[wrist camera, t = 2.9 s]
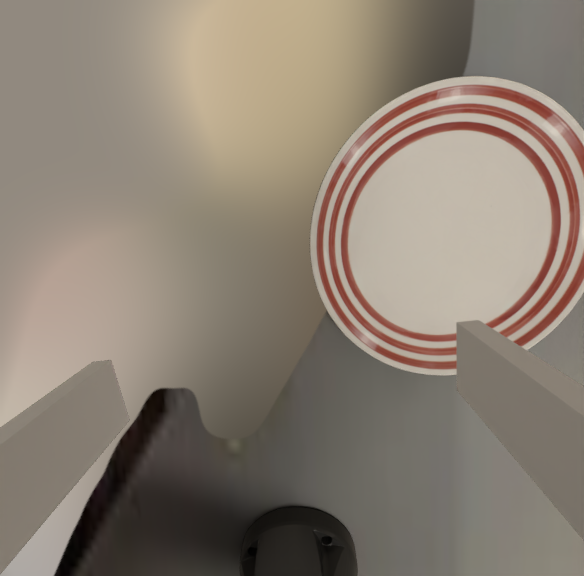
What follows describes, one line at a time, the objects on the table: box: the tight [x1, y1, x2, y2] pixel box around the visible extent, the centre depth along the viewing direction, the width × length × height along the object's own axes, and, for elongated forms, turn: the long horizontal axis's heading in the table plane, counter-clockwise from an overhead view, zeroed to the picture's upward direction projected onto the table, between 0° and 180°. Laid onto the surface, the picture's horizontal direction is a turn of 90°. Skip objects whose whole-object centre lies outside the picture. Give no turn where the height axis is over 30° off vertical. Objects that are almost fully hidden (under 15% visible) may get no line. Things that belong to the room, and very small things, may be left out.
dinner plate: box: [310, 76, 584, 375], centre depth 29 cm, size 27×27×3 cm
